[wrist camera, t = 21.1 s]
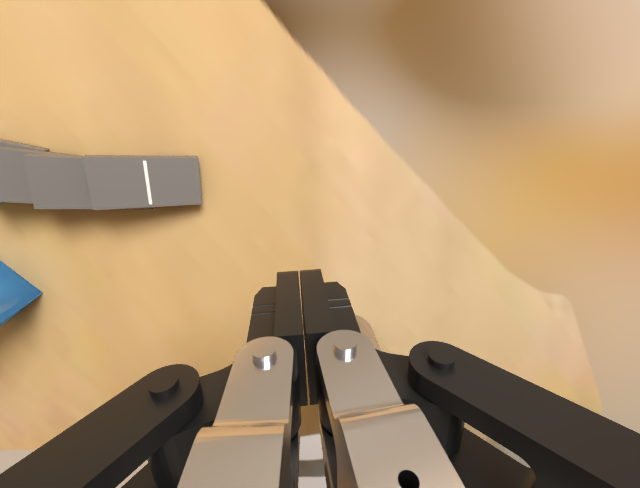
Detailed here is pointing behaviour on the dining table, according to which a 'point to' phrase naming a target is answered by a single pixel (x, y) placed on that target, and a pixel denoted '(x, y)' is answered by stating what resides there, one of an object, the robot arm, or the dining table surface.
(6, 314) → the perfume bottle
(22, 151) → the tile
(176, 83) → the dining table surface
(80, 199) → the tile
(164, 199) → the tile
